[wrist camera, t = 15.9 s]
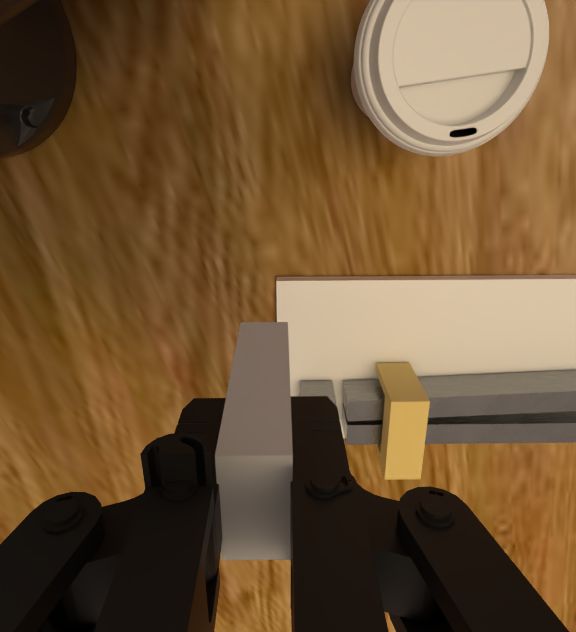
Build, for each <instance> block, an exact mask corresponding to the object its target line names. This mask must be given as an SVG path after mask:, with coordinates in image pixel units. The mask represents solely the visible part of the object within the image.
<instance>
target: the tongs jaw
mask: <svg viewBox="0 0 576 632" xmlns="http://www.w3.org/2000/svg"><path fill="white" fill-rule="evenodd" d="M417 378H418V380H419V382H420V383H421V385H422V387H423V389H424V391H425V393H426V395H427V397H428V399H429V401H430V405H429V413H428V418H434V417H456V416H478V415H500V414H522V413H544V412H567V411H576V370H569V371H547V372H525V373H503V374H482V375H460V376H438V377H417ZM343 402H344V407H345V411H346V416H347V421H368V420H383V415H384V403H385V394H384V392H383V389H382V386H381V384H380V381H379V379H373V380H351V381H343Z"/></svg>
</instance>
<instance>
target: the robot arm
mask: <svg viewBox="0 0 576 632" xmlns="http://www.w3.org/2000/svg"><path fill="white" fill-rule="evenodd" d="M75 78H76V56H75V47H74V42H73V37H72V33H71V29H70V26H69V23H68V20H67V18H66V15H65V12H64V10H63V8H62V6H61V4H60V2H59V0H0V158H1V157H9V156H14V155H17V154H21V153H24V152H26V151H28V150H30V149H32V148H34V147H36V146H38V145H39V144H41V143H42V142H43V141H45V140H46V139H47V138H48V137H49V136H50V135H51V134H52V133H53V132H54V131H55V130H56V128H57V127H58V126H59V124H60V123H61V121H62V120H63V118H64V116H65V114H66V112H67V110H68V108H69V105H70V102H71V99H72V96H73V92H74V86H75ZM141 460H142V468H143V475H144V482H145V491H144V493H143V494H141V495H139V496H137V497H135V498H133V499H130V500H127V501H124V502H120V503H116V504H112V505H108V506H104V507H101V503H100V502H99V500H98V499H97V498H96V497H95V496H93V495H91V494H88V493H86V492H70V493H65V494H61V495H57V496H55V497H53V498H51V499H49V500H47V501H45V502H43V503H42V504H40V505H39V506H38V507H37V508H35V509H34V510H33V511H32V512H31V513H30V514H29V515H28V516H27V517H26V518H25V519H24V520H23V521H22V522H21V523H20V524H19V525H18V526H17V528H16V529H15V530H14V531H13V532H12V533H11V534H10V535H9V536H8V537H7V538H6V539H5V540H4V541H3V542H2V543H1V544H0V632H214V628H215V620H216V612H217V604H218V596H219V588H220V576H219V560H220V553H222V560H286V559H291V619H292V632H388V628H387V623H386V618H385V613H384V612H388V613H389V616H390V619H391V621H392V624H393V626H394V628H395V630H396V632H569V631H568V630H567V628H566V627H565V626H564V625H563V623H562V622H561V621H560V620H559V619H558V617H557V616H556V615H555V614H554V612H553V611H552V610H551V609H550V607H549V606H548V605H547V604H546V602H545V601H544V600H543V599H542V597H541V596H540V595H539V594H538V593H537V591H536V590H535V589H534V588H533V586H532V585H531V584H530V583H529V581H528V580H527V579H526V578H525V576H524V575H523V574H522V573H521V571H520V570H519V569H518V568H517V567H516V565H515V564H514V563H513V562H512V560H511V559H510V558H509V557H508V555H507V554H506V553H505V552H504V550H503V549H502V548H501V547H500V545H499V544H498V543H497V542H496V541H495V539H494V538H493V537H492V536H491V534H490V533H489V532H488V531H487V529H486V528H485V527H484V526H483V524H482V523H481V522H480V521H479V520H478V518H477V517H476V516H475V515H474V513H473V512H472V511H471V510H470V508H469V507H468V506H467V505H466V504H465V503H464V502H463V501H462V500H461V499H460V498H458V497H457V496H456V495H454V494H452V493H450V492H448V491H446V490H443V489H439V488H434V487H417V488H414V489H412V490H409V491H407V492H406V493H405V494H404V495H403V496H402V497H401V498H400V501H396V500H392V499H388V498H384V497H380V496H377V495H374V494H372V493H370V492H368V491H366V490H364V489H363V488H362V487H361V486H359V485H358V484H357V482H356V480H355V478H354V477H353V476H352V475H351V473H350V470H349V465H348V460H347V455H346V450H345V445H344V439H343V434H342V429H341V424H340V419H339V414H338V409H337V406H336V405H335V404H334V403H333V402H332V401H331V400H330V399H329V398H328V396H291V394H290V367H289V339H288V322H241V323H240V329H239V334H238V339H237V344H236V349H235V354H234V359H233V365H232V370H231V375H230V380H229V385H228V390H227V396H226V398H194V399H193V400H192V401H191V402H190V403H189V404H188V405H187V406H186V407H185V408H183V409H182V412H181V415H180V418H179V421H178V425H177V427H176V430H175V433H174V434H168V435H165V436H163V437H160V438H157V439H155V440H154V441H152V442H151V443H150V444H148V445H147V446H146V447H145V448H144V450H143V451H142V453H141Z"/></svg>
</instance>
